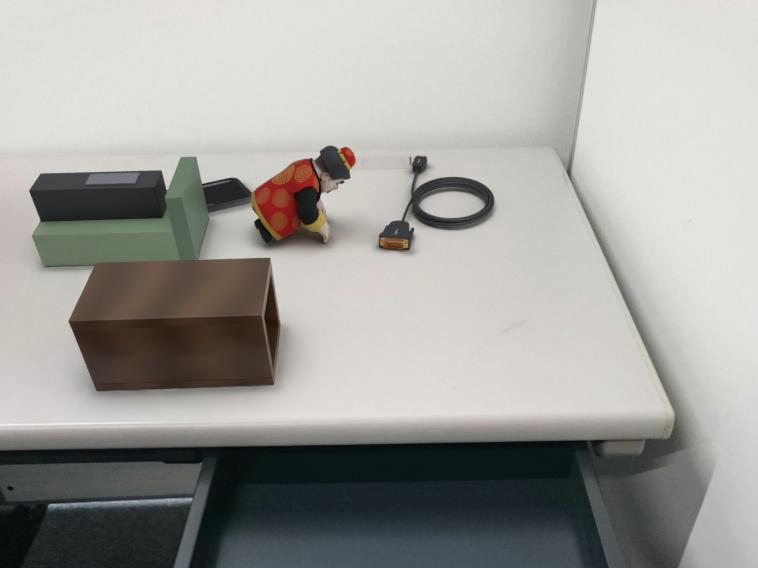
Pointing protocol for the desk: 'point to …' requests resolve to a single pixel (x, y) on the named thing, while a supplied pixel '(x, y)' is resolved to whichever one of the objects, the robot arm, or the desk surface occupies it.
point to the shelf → (179, 324)
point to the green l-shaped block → (133, 230)
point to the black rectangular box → (99, 195)
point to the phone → (225, 194)
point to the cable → (398, 230)
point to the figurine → (300, 194)
